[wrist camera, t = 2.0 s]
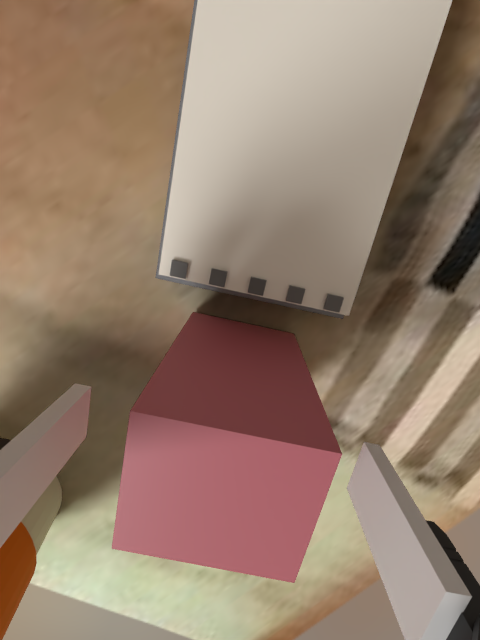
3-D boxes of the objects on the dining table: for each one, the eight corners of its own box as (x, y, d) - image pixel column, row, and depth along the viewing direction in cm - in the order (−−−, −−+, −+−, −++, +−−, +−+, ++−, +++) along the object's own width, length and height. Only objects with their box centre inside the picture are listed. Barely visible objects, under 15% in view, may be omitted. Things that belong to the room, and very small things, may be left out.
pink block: (193, 311, 22) (130, 410, 10) (293, 333, 22) (342, 454, 11) (178, 389, 24) (111, 548, 12) (272, 408, 24) (294, 582, 12)
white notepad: (208, -50, 17) (191, -166, 12) (432, 7, 17) (509, -82, 12) (161, 274, 21) (135, 289, 16) (336, 312, 22) (362, 338, 17)
